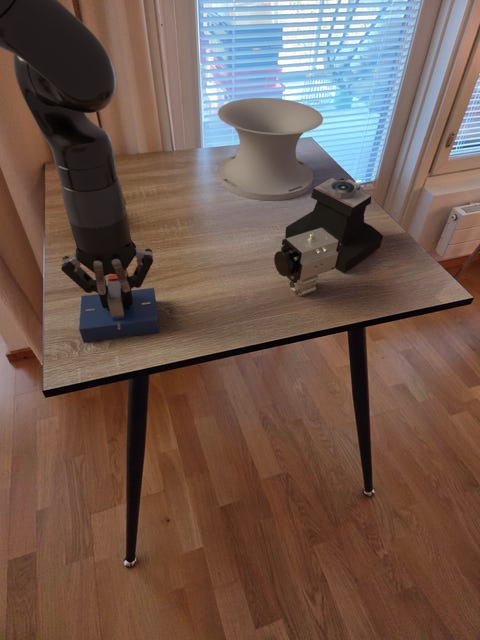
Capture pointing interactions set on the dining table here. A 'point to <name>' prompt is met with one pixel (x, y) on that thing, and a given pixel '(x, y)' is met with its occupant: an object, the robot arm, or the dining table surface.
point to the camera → (341, 220)
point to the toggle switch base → (136, 321)
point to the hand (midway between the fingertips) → (118, 306)
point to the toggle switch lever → (115, 298)
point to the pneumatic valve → (308, 258)
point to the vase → (267, 148)
